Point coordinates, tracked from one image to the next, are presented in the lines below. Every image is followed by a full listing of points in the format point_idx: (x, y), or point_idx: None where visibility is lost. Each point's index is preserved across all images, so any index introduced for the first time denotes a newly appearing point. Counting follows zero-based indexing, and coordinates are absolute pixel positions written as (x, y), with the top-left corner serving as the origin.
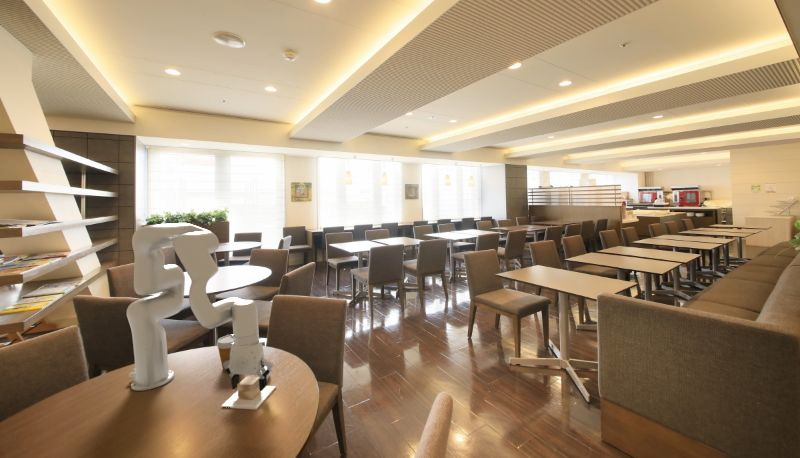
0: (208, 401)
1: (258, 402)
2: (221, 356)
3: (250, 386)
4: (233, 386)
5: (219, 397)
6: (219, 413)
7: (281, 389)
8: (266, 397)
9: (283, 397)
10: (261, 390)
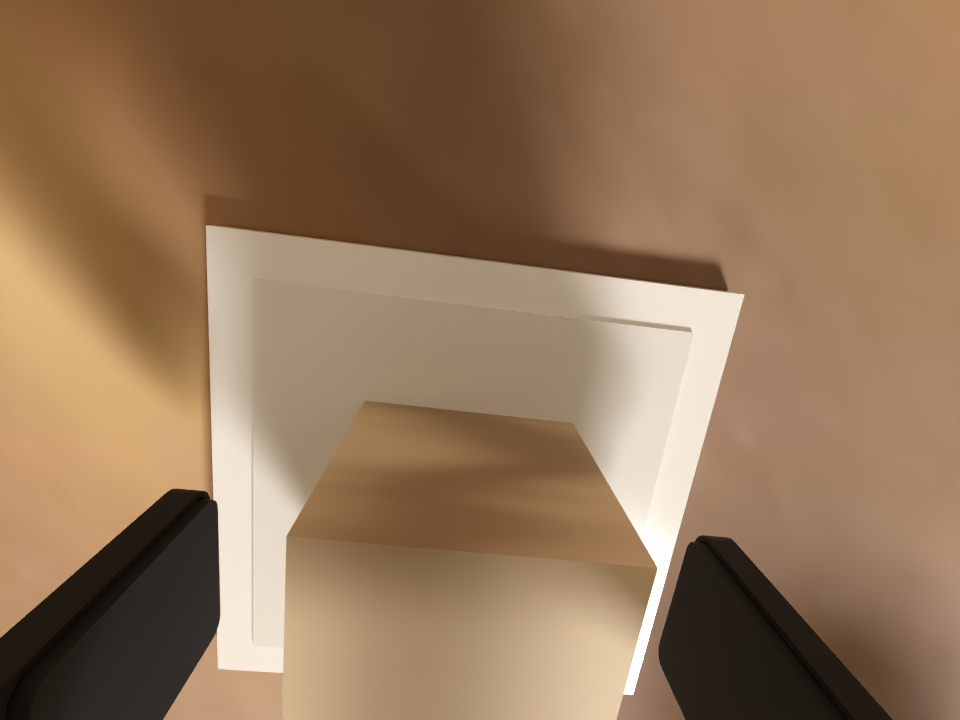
0: (934, 416)
1: (249, 346)
2: None
3: (328, 520)
4: (730, 569)
5: (829, 487)
6: (705, 159)
7: None
8: (217, 464)
9: (9, 475)
10: (173, 491)
